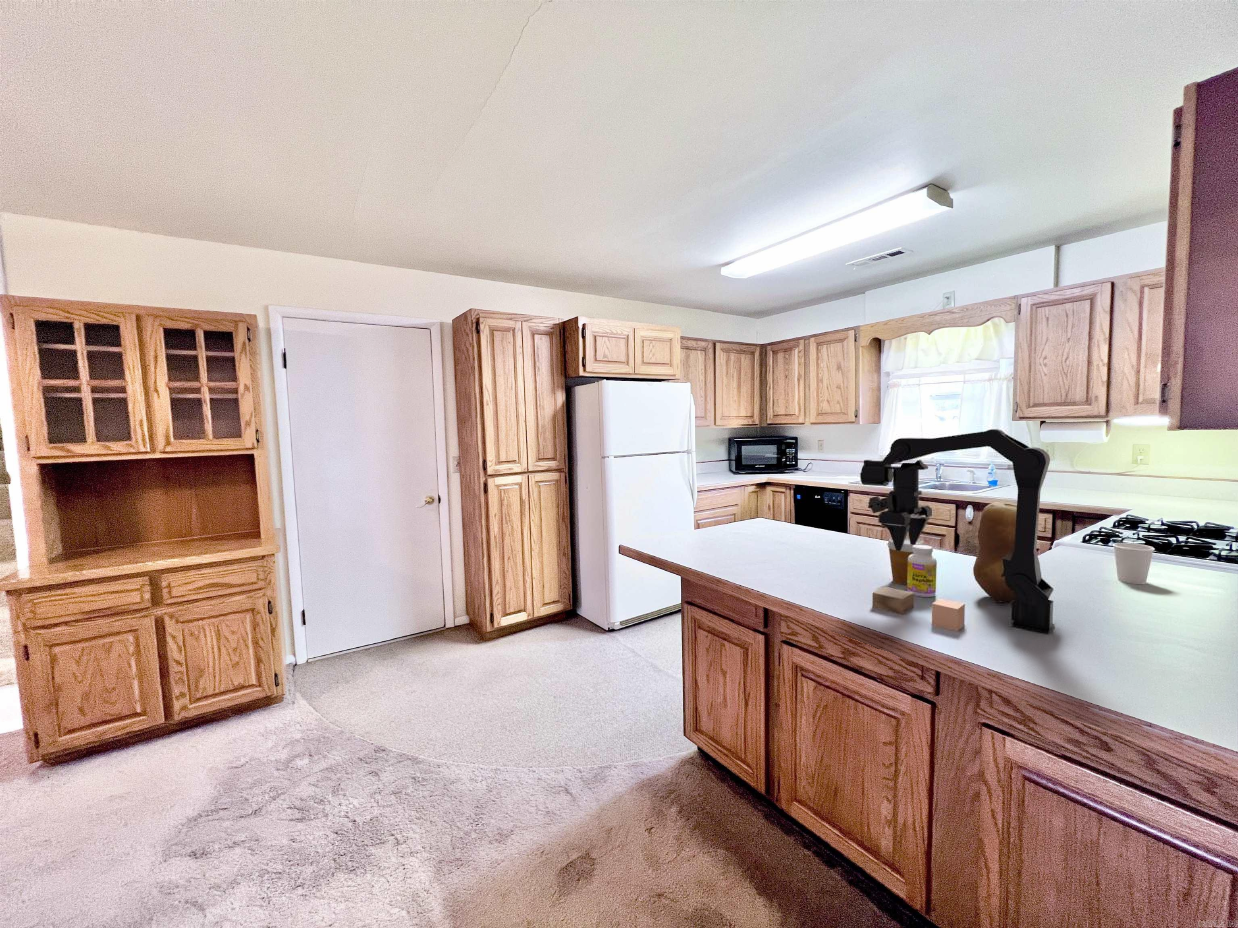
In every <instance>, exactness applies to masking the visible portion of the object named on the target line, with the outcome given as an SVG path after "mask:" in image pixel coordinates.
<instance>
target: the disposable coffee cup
mask: <svg viewBox="0 0 1238 928" xmlns="http://www.w3.org/2000/svg"><path fill="white" fill-rule="evenodd" d="M915 545H925V544H924V542H923V541H922V540H920V539H918V540H917V542H916V544H915ZM886 546H887V548H888V552H889V559H890V567H891V568H890V569H891V577H892V582H893V583H895V584H898V585H903V586H907V575H908V557H909V556H910V555H911V554H913V550H912V546H913V545H911V544H910V539H909V538H908V537H906V538H905V541H904V544H903V547H902V549H901V551H897V550H896V549H895V546H894V543H893V540H892V538H889V539H888V542H887V543H886Z"/></svg>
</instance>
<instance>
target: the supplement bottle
mask: <svg viewBox="0 0 1238 928" xmlns="http://www.w3.org/2000/svg"><path fill="white" fill-rule="evenodd" d="M912 550H913V554H911V555H910V556H909V557H908V575H907V585H906V590H907V591H908V592H912V593H914V596H915V597H923V598H931V597H935V595H936V594H937V568H938V567H937V565H938V562H937V561H938V560H937V558H936V557H934V556H933V552H934V549H933V546H930V545H925V544H924V545H913V546H912Z"/></svg>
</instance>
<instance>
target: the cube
mask: <svg viewBox="0 0 1238 928" xmlns="http://www.w3.org/2000/svg"><path fill="white" fill-rule="evenodd" d="M965 613H966V604H965V603H963V602H959V601H958V602H957V601H955V600H949V599H946V598H945V599H944V598H939V599H937V600H936V601H934V602H932V604H931V625H932V626H934V627H935V626H936V627H939V628H943V629H948V630H951V631H956V632H958V631H960V629H961V628H963V627H964V626H965V622H966V621H965V618H966V616H965V615H966V614H965Z"/></svg>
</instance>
